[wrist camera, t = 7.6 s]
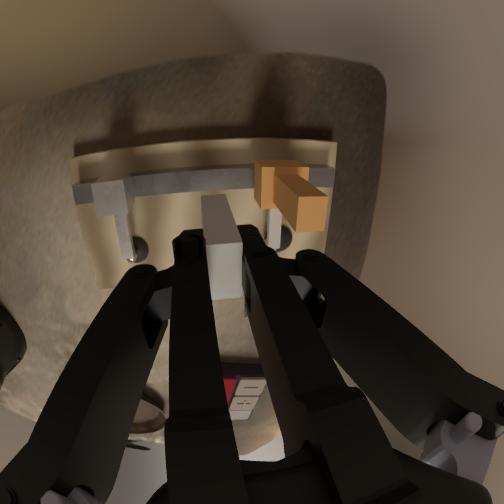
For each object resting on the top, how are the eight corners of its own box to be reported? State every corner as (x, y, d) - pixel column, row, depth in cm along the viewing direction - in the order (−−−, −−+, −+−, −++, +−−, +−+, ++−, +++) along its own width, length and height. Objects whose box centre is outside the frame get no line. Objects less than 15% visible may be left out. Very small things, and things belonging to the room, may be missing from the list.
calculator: (272, 378, 41) (249, 421, 47) (266, 360, 45) (246, 405, 51) (205, 377, 38) (195, 421, 44) (203, 357, 42) (193, 404, 48)
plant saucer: (179, 422, 51) (180, 434, 49) (103, 423, 49) (101, 434, 46) (145, 372, 41) (143, 388, 38) (56, 375, 39) (52, 388, 36)
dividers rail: (96, 256, 28) (82, 281, 23) (79, 175, 23) (58, 190, 19) (318, 239, 32) (336, 261, 28) (327, 160, 27) (350, 171, 23)
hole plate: (102, 281, 31) (98, 289, 29) (74, 156, 23) (67, 159, 22) (316, 264, 35) (321, 271, 34) (331, 140, 28) (338, 142, 26)
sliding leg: (250, 247, 30) (274, 314, 21) (251, 157, 25) (283, 187, 16) (285, 245, 30) (322, 307, 21) (291, 157, 26) (343, 187, 16)
